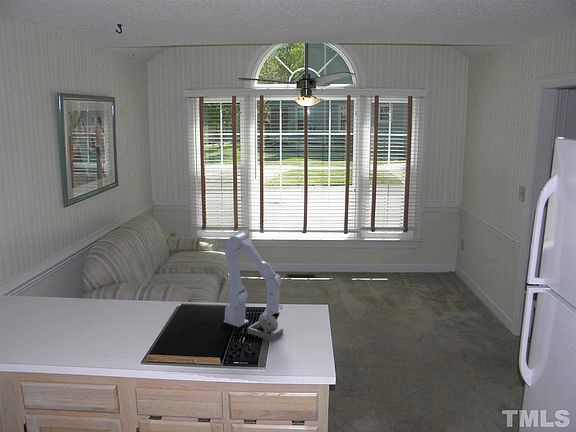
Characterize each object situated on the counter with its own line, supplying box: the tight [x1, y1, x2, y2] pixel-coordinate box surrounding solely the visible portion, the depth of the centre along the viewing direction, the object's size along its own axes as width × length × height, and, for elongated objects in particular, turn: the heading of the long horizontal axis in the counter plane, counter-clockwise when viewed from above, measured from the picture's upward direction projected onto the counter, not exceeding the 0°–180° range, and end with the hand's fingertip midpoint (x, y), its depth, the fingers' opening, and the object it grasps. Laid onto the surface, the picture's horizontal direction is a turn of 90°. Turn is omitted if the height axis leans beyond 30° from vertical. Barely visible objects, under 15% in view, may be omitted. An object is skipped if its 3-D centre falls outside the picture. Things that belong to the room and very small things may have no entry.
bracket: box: [247, 320, 284, 343], centre depth 235 cm, size 14×9×3 cm
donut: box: [258, 313, 279, 333], centre depth 235 cm, size 10×4×10 cm, turn 61°
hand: (271, 327), depth 239 cm, fingers closed
